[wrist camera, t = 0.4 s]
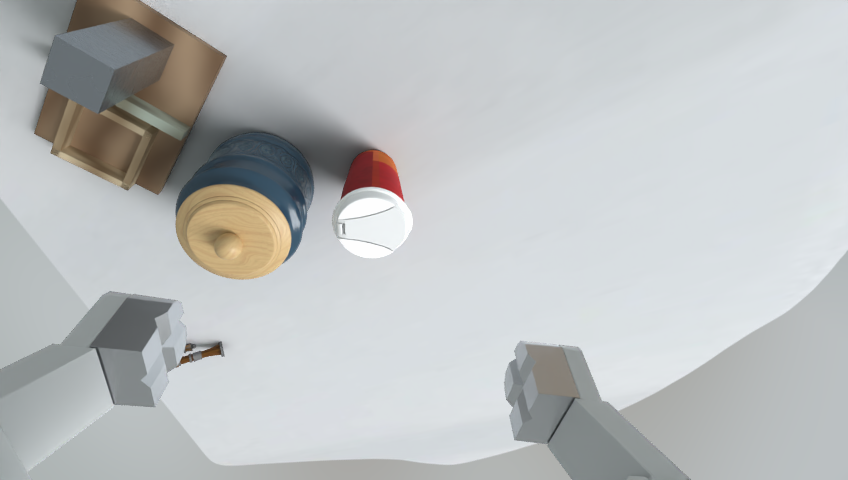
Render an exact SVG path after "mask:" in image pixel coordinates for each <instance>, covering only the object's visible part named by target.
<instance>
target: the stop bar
mask: <svg viewBox="0 0 848 480" xmlns="http://www.w3.org/2000/svg"><path fill="white" fill-rule="evenodd" d="M173 47H174V44H173V43H171V42H170V41H168V40H166V39H165V38H163V37H161V36H160V35H158V34H157V33H155V32H153V31H152V30H150V29H149V28H147V27H145V26H144V25H142V24H141V23H139V22H137V21H136V20H134V19H132V18H127V19H123V20H119V21H114V22H110V23H106V24H102V25H97V26H93V27H89V28H85V29H81V30H76V31H72V32H68V33H64V34H59V35H55V37H54V40H53V43H52V47H51V50H50V53H49V56H48V60H47V63H46V66H45V69H44V72H43V76H42V79H41V82H40V84H42V85H44V86H46V87H48V88H49V89H51V90H53V91H55V92H57V93H59V94H61V95H63V96H65V97H66V98H68V99H70V100H72V101H74V102H76V103H78V104H80V105H82V106H83V107H85V108H87V109H89V110H91V111H93V112H95V113H97V114H99V113H101V112H103V111H105V110H106V109H108V108H110V107H112V106H114V105H115V104H117V103H119V102H121V101H123V100H124V99H126V98H128V97H130V96H132V95H134V94H135V93H137V92H139V91H141V90H143V89H144V88H146V87H148V86H150V85H152V84H153V83H155V82H157V81H159V80H160V78H161V75H162V73H163V71H164V68H165V66H166V64H167V61H168V59H169V57H170V54H171V52H172V50H173Z"/></svg>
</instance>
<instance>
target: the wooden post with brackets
mask: <svg viewBox="0 0 848 480" xmlns="http://www.w3.org/2000/svg"><path fill="white" fill-rule="evenodd" d="M195 347H196V345H194V344H193V345H192V346H191V343H190V344H187V345H186V346H185V350H184V353H185V352H187V351H192V348H195ZM214 355H222V357H223V356H224V351H223V347H222V342H219V345H217V346H215V347H212V348H210V349H207V350H205V351H199V352H195V353H193V354H191V353H190V354H189V355H188V356H185V357H183V356H182V358H181V360H180V362H179V364H178V366H177V367H179V366H181V364H183V363H187V362H190V363H191V362H192V361H194V362H195V361H197V360H200V359H202V358H204V357H208V356H214ZM224 357H225V356H224ZM175 368H176V367H175Z"/></svg>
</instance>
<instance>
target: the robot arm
mask: <svg viewBox="0 0 848 480" xmlns="http://www.w3.org/2000/svg"><path fill="white" fill-rule="evenodd" d="M183 313H184V312H183V307H182V302H180V301H178V300H171V299H164V298H157V297H150V296H143V295H136V294H126V293H119V292H112V291H109V292H108V293H106V294H104V295H102V296H101V297H100V299H99V300H98V301H97V302H96V303H95V304H94V306H93V307H92V308H91V309H90V310H89V312H88V313H87V314H86V315H85V316H84V317H83V319H82V320H81V321H80V322H79V324H77V326H76V327H75V328H74V329H73V330H72V331H71V333H70V334H69V335H68V336H67V337H66V338H65V340H64V341H63V342H62V343H61V344H60V345H59V344H52V345H50V346H48V347H45V348H44V349H41V350H39V351H37V352H35V353H33V354H31V355H29V356H27V357H25V358H23V359H20V360H18V361H16V362H14V363H12V364H10V365H8V366H6V367H4V368H2V369H0V480H32V479H31V477H30V476H29V474H28V471H29V470H31V469H32V468H33V467H35V466H36V465H37V464H39V463H40V462H41V461H43V460H44V459H45V458H47V457H48V456H49V455H51V454H52V453H53V452H55V451H56V450H57V449H59V448H60V447H61V446H63V445H64V444H65V443H66V442H68V441H69V440H71V439H72V438H73V437H75V436H76V435H77V434H79V433H80V432H81V431H82V430H84V429H85V428H86V427H88V426H89V425H90V424H91V423H93V422H94V421H95V420H97V419H98V418H100V417H101V416H102V415H104V414H105V413H106V412H107V411H109V410H110V409H112V408H113V407H114V404H115V405H130V406H145V407H156V405H157V403H158V401H159V399H160V397H161V396H162V394H163V392H164V390H165V388H166V386H167V385H168V383H169V381H168V375H167V372H169V371H171V370H172V369H174V368H175V367H177V366H178V364H179V362H180V360H181V358H182V356H183V353H184V350H185V346H186V341H187V331H186V326H185V325H184V324H183V323H182V322H181V321H180V318H181V317H182V315H183ZM515 356H516V359H515V360H513V361H511V362H510V363H509V365H508V368H507V370H506V374H505V382H504V385H505V395H506V400H507V401H508V402H509V403H510V404H511V406H512V407H513V409H512V411H511V413H510V421H511V426H512V431H513V436H514V440H517V441H526V442H534V443H542V444H548V445H547V446H548V448H549V449H550V450H551V452H552V453H553V454H554V456H555V457H556V458H557V460H558V461H559V463H560V464H561V465H562V467H563V468H564V469H565V471H566V472H567V473H568V475H569V476H570V478H571V479H572V480H691V479H690V478H689V477H688V476H687V475H686V474H684V473H683V472H682V471H681V470H680V469H679V468H678V467H677V466H676V465H675V464H674V463H673V462H672V461H670V460H669V459H668V458H667V457H666V456H665V455H664V454H663V453H662V452H661V451H660V450H658V448H656V446H654V445H653V444H652V443H651V442H650V441H649V440H648V439H647V438H646V437H645V436H644V435H643V434H642V433H640V432H639V431H638V430H637V429H636V428H635V427H634V426H633V425H632V424H631V423H630V422H629V421H628V420H627V419H625V418H624V417H623V416H622V415H621V414H620V413H619V412H618V411H617V410H616V409H615V408H614V407H613V406H612V405H610V404H609V403H608V402H604V401H602V400H601V397H600V395H599V392H598V390H597V387H596V385H595V382H594V380H593V378H592V375H591V373H590V370H589V368H588V365H587V363H586V360H585V358H584V355H583V353H582V351H581V349H580V348H579V347H573V346H564V345H555V344H546V343H536V342H527V341H520V342H519V343H518V344H517V346H516V349H515Z"/></svg>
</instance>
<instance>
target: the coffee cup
mask: <svg viewBox="0 0 848 480" xmlns="http://www.w3.org/2000/svg"><path fill="white" fill-rule="evenodd" d="M332 225H333V229H334V232H335V235H336V236H337V238H338V239H339V241H340V242H341V244H342V245H343V246H344V247H345V248H346V249H347V250H348V251H350V252H351V253H353V254H355V255H358V256H360V257H365V258H379V257H383V256H386V255H389V254H391V253H392V252H394V251H395V250H396V249H397V248H398V247H399V246H400V245H401V244H402V243H403V242H404V241H405V239H406V238H407V236H408V234H409V232H410V230H411V229H412V214H411V212H410V210H409V209H408V207H407V206H406V204H405V203H404V199H403V194H402V190H401V186H400V181H399V177H398V173H397V169H396V166H395V164H394V162H393V160H392V159H391V158H390V157H389V156H388V155H387V154H385V153H383V152H381V151H377V150H368V151H365V152H362V153H361V154H359V155H358V156H357V157H356V158H355V159H354V160H353V162H352V164H351V167H350V170H349V173H348V176H347V179H346V182H345V185H344V188H343V192H342V196H341V200H340V201H339V202H338V204H337V205H336V207H335V210H334V212H333V217H332Z"/></svg>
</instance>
